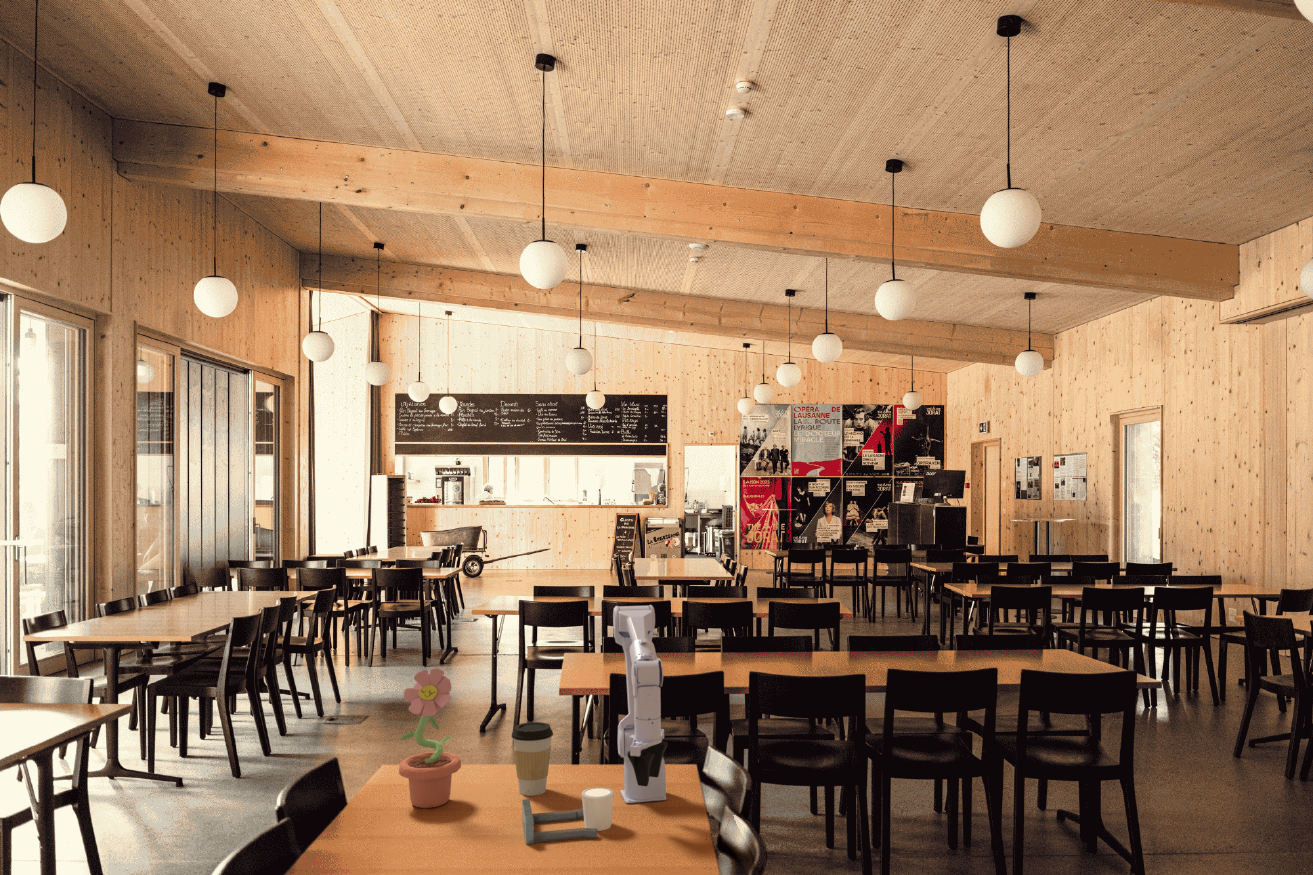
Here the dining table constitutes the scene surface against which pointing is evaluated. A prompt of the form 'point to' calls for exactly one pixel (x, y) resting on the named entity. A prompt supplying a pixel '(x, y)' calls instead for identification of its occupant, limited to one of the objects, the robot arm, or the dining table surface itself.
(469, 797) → the dining table surface
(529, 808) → the grey hook bracket
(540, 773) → the coffee cup
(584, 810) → the shot glass
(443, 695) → the decorative flower
